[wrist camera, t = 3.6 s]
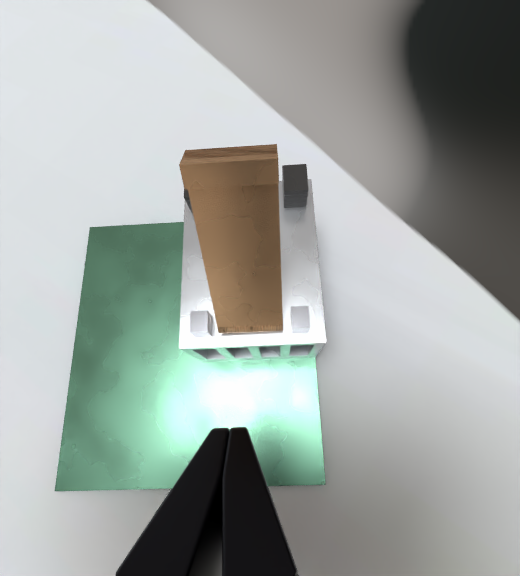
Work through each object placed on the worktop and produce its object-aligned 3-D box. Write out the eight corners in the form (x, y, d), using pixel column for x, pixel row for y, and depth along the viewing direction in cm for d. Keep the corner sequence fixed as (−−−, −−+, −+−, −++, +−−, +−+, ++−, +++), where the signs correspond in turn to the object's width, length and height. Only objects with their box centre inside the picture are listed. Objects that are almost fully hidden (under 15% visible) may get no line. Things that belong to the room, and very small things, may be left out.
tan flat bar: (282, 320, 17) (283, 340, 16) (220, 323, 17) (218, 343, 16) (276, 143, 12) (277, 158, 11) (185, 149, 12) (179, 164, 11)
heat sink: (324, 483, 20) (349, 526, 13) (58, 489, 21) (-60, 535, 14) (303, 218, 25) (312, 144, 18) (92, 229, 26) (21, 163, 19)
